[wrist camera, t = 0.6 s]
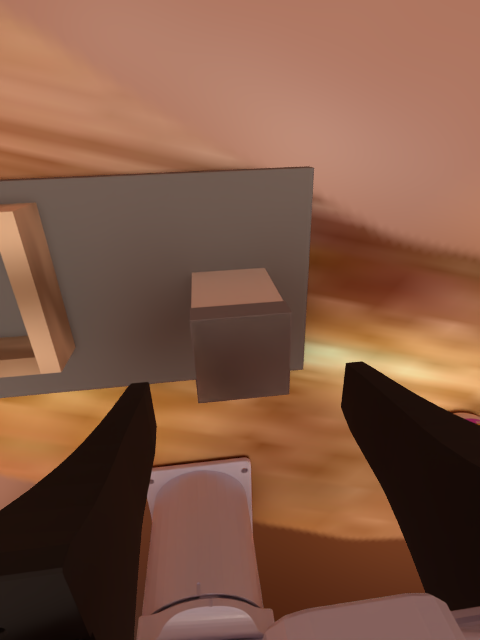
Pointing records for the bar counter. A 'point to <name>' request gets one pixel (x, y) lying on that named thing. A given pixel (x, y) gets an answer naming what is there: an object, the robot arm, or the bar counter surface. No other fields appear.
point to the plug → (239, 335)
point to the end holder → (32, 296)
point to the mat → (156, 264)
